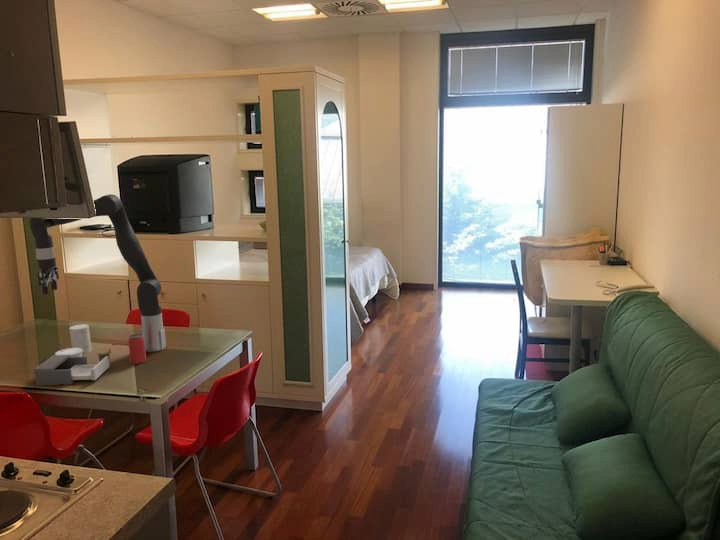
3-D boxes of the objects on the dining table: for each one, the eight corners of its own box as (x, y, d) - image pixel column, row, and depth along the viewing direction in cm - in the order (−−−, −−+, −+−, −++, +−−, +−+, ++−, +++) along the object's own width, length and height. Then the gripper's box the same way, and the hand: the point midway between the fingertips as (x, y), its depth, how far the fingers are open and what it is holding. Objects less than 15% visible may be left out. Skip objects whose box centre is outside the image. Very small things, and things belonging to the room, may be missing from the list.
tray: (109, 366, 254) (108, 356, 253) (95, 380, 239) (93, 369, 238) (76, 367, 254) (75, 357, 253) (59, 381, 239) (58, 370, 238)
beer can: (131, 365, 259) (128, 339, 256) (129, 360, 264) (127, 335, 262) (147, 362, 262) (144, 336, 259) (145, 358, 267) (142, 332, 265)
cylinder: (112, 362, 263) (110, 351, 262) (108, 365, 259) (107, 355, 258) (102, 362, 263) (100, 352, 262) (98, 366, 258) (96, 355, 257)
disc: (113, 351, 263) (112, 346, 262) (108, 355, 257) (107, 351, 256) (99, 351, 262) (99, 347, 262) (94, 356, 257) (93, 351, 256)
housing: (88, 369, 255) (86, 354, 253) (71, 384, 239) (69, 367, 238) (55, 370, 254) (53, 355, 253) (36, 385, 238) (34, 369, 237)
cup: (84, 354, 274) (81, 329, 272) (68, 353, 276) (65, 329, 273) (95, 348, 282) (92, 324, 279) (80, 347, 283) (77, 323, 281)
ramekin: (64, 358, 270) (62, 347, 269) (88, 358, 269) (87, 347, 268) (51, 367, 259) (49, 355, 258) (76, 367, 258) (74, 355, 257)
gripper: (46, 260, 262) (51, 295, 265) (61, 254, 276) (65, 288, 279) (29, 260, 262) (34, 295, 265) (45, 254, 276) (49, 288, 279)
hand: (50, 291), depth 272 cm, fingers open, 8 cm apart
